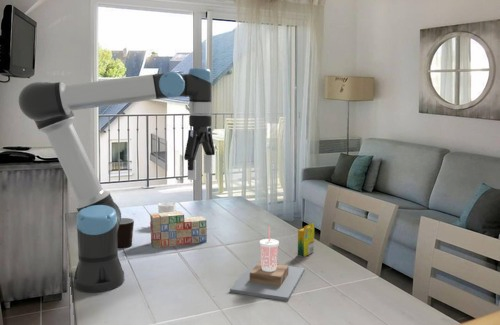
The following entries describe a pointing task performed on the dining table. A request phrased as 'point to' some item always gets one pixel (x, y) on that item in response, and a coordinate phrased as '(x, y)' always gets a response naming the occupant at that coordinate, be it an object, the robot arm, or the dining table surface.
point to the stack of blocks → (176, 229)
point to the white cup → (166, 207)
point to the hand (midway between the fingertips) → (200, 176)
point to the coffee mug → (125, 233)
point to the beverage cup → (269, 253)
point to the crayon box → (306, 240)
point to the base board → (267, 290)
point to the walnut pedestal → (269, 275)
